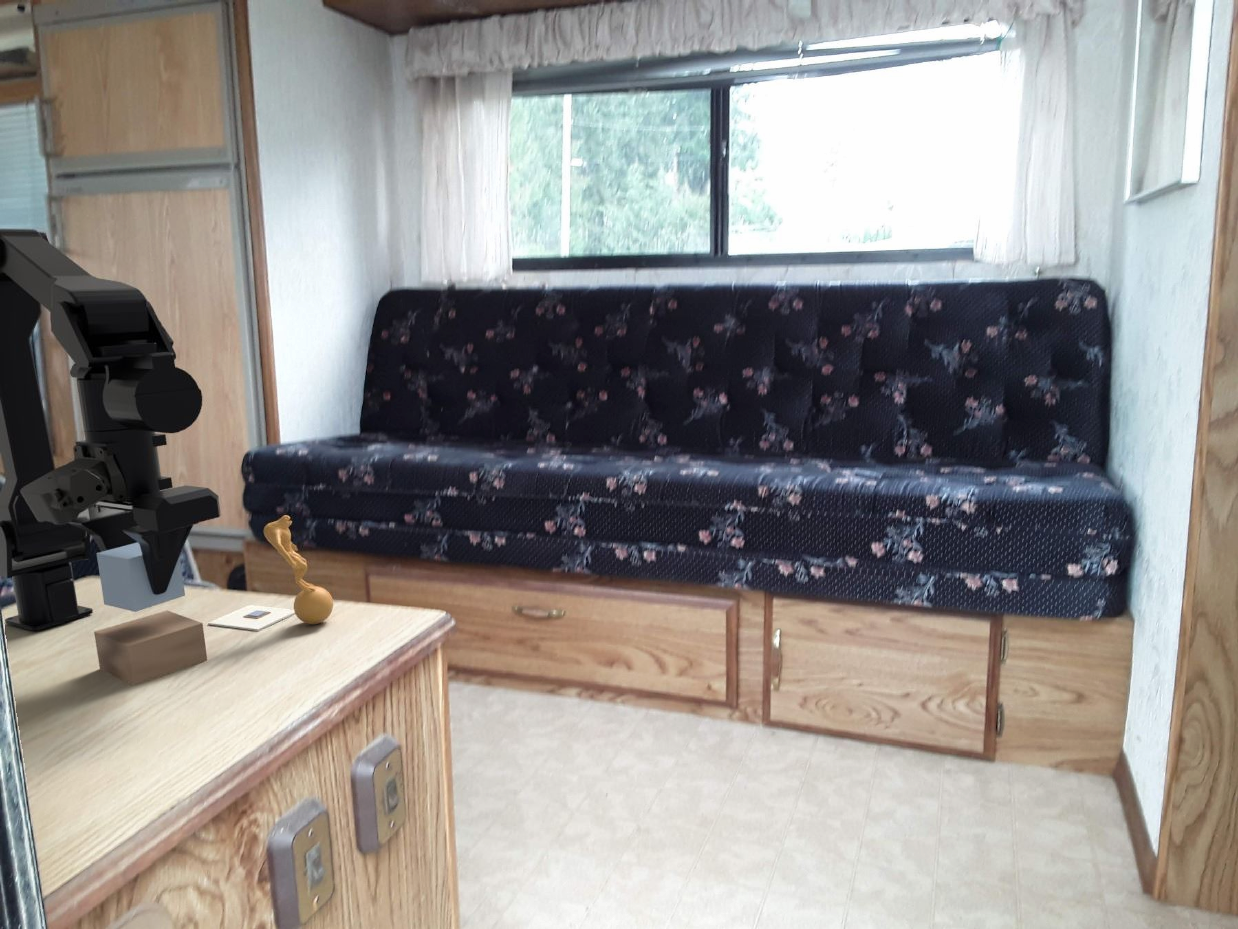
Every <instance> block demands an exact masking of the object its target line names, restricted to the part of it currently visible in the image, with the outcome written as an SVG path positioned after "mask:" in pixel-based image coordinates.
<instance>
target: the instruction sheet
mask: <svg viewBox="0 0 1238 929" xmlns="http://www.w3.org/2000/svg"><path fill="white" fill-rule="evenodd" d="M293 614H294V615H296V614H295V612H294V609H288V608H279V607H272V606H271V607H270V606H263V605H252V604H249V605H247V606H244V607H242V608H239V609H236V610H235V611H232V612H230V613H228V614H226V615H223V616H220V617H219V618H218V617H217V618H216V619H214V620H211V621H209V622H207V624H208V625H210V626H217V627H224V628H232V629H233V628H234V629H241V630H249V631H255V632H259V631H262V630H264V629H266V628H268V627H271V626H272V625H274V624H277V623H279V622H281V621H283V620H285V619H287V618H289V617H292V616H294V615H293ZM291 615H292V616H291ZM282 619H283V620H282Z"/></svg>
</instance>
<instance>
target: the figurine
mask: <svg viewBox="0 0 1238 929" xmlns="http://www.w3.org/2000/svg"><path fill="white" fill-rule="evenodd" d="M292 524H293V521H292V520H291V517H290V516H289V515H286V514H285V515H283V516H281V518H279V519H277V520H275V521H273V522H269V523H267V524H265V526H264V528H263V534H264V537H265V539H266V540H267V541H268V542H269V543H270V544H271V546H273V547H274V548H275V549H276V551H277V552H278V555H281V556H282V557H283V558H284V561H286V562H287V564H288V565H289V566H291V567H292V570H294V580H295V583H296V584H297V585H298V586H299V588H301V590H300V592H298V594H297V595H296V596H295V598H294V601H293V610H294V612H295V614H294V615H295V617H297V619H299V621H301V622H303V623H304V624H307V625H317V624H320V623H323V622H324V621H326V620H327V619H328V618H329V617H330V615H331V613H332V612H333V609H334V600H333V597H332V595H331V594H330V592H329V591H328V590H327V589H325V588H324V587H321V586H316V585H314V584H313V583H308V582H306V581H305V580H303V579H302V578H303V577H304V575H305V574H306V573H307V571H308V565H307V564H308V563H307V562H308V561H307V559H305V558H304V557H302V555H300V554H299V553H297V551H299V549H298V548H297V547H298V546H297V545H295V544H294V543H293V542H292V540H291V539H292V534H291V530H290V528H289V527H290V526H291V525H292Z"/></svg>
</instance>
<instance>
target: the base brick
mask: <svg viewBox="0 0 1238 929" xmlns="http://www.w3.org/2000/svg"><path fill="white" fill-rule="evenodd" d="M93 634H94V640H95V641H94V642H95V646H96V652H97V653H96V654H97V660H98V667H99V670H101V671H102V672H105V673H107V674H109V675H111V676H113V677H115V678H117V679H119V680H122V681H123V682H125V683H128V684H130V685H132V686H136V685H139V684H142V683H144V682H148V681H150V680H151V681H152V680H153V679H154V680H155V679H157V678H159V677H162V676H165V675H169V674H171V673H174V672H177V671H180V670H183V669H186V668H189V667H191V666H194V665H197V664H200V663H203V662H205V661H206V662H207V661H208V654H207V648H206V647H207V646H206V640H205V633H204V625H203V622H201V621H197V620H195V619H192V618H189V617H187V616H184V615H181V614H178V613H176V612H173V611H170V610H164V611H160V612H157V613H153V614H150V615H147V616H143V617H141V618H140V617H139V618H137V619H132V620H129V621H126V622H122V623H119V624H116V625H112V626H110V627H109V626H108V627H106V628H103V629H99V630H94V632H93Z"/></svg>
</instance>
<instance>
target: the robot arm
mask: <svg viewBox="0 0 1238 929" xmlns="http://www.w3.org/2000/svg"><path fill="white" fill-rule="evenodd" d="M42 306H43V307H44V308H45V309H46V310H47V311H48V312H49V314H50V315H49V316H50V332H51V333H52V334H53V336H54V338H55V339H56V340H57V341H58V343H59V345H60V346H61V347H62V348H63V349H64V351H65V352H66V353H67V354H68V356H69V358H71V360H72V361H73V362H74V363H73V365H72V366H71V368H70V370H69V375H70V377H72V378H75V379H76V386H77V393H78V399H79V400H78V401H79V406H80V413H81V420H82V426H83V432H84V433H83V434H84V439H83V440H77V441H75V445H74V446H73V447H72V448H73V449H72V450H73V456H74V458H73V460H72V461H69V462H68V463H66V464H64V465H61V466H58V467H57V468H56V464H55V459H54V454H53V450H52V445H51V439H50V434H49V428H48V425H47V419H46V414H45V410H44V409H45V408H44V405H43V399H42V394H41V393H42V392H41V390H40V384H39V379H38V375H37V370H36V364H35V359H34V355H33V350H32V345H31V337H32V334H33V332H34V330H35V328H36V326H37V324H38V322H39V320H40V318H41V316H42V312H43V310H42ZM174 344H175V343H174V339H173V338H172V337H171V336H170V334H169V332H167V329H166V328H165V327H164V326H163V323H162V322H161V320H159V317H158V315H157V314H156V311H155V310H154V308H153V305H152V304H151V303H150V301H148V299H147V298H146V296H145V295H144V294H143V292H142V291H141V290H140V289H138V288H137V287H134V286H132V285H130V284H127V283H125V282H122V281H119V280H118V281H117V280H113V279H112V280H111V279H105V278H99V277H96V276H94V275H91V274H90V273H89V272H88V271H87V270H86V269H83V267H81V266H80V265H79V264H77V263H76V262H75V261H73V260H72V259H71V258H70V257H68V255H66V254H65V253H63V252H62V251H61V250H59V249H58V248H56V247H55V246H54V245H52V244H51V243H50V241H49V239H48V237H47V235H46V234H45V233H44V232H42V231H37V230H36V229H34V228H0V458H1V461H2V466H3V471H4V476H5V481H4V483H3V485H2V487H1V490H0V577H2V578H4V579H9V578H11V579H12V585H13V592H14V598H15V603H16V610H17V615H14V616H10V617H6V618H5V619H4V624H7V625H10V626H15V627H18V628H20V629H25V630H27V631H28V630H29V631H33V632H37V631H40V630H44V629H46V628H50V627H54V626H56V625H60V624H63V623H66V622H70V621H72V620H76V619H78V618H82V617H85V616H89V615H91V614H93V613H94V612H93V608H90V607H86V606H84V605H83V606H81V605H79V604H78V598H77V591H76V586H75V580H74V574H73V569H72V568H73V567H72V563H74V562H75V563H76V562H79V561H86V560H90V552H91V537H92V538H93V540H94V542H95V544H96V545H97V547H98V548H99V550H100V552H103V551H107V550H111V549H115V548H118V547H122V546H126V545H130V544H134V543H137V542H138V543H139V545H140V548H141V552H142V556H143V560H144V564H145V568H146V572H147V576H148V579H149V583H150V586H151V589H152V592H153V594H155V595H159V594H162V593H165V592H166V591H167V588H168V585H169V583H170V580H171V577H172V575H173V572H174V569H175V567H176V564H177V561H178V559H179V556H180V557H181V553H182V550H183V548H184V546H185V544H186V542H187V540H188V538H189V535H190V533H191V531H192V529H193V527H194V526H195V525H197V524H199V523H202V522H205V521H210V520H214V519H217V518H220V517H221V516H222V514H221V513H222V512H221V506H220V498H219V495H218V494H217V493H215V492H214V491H213V490H212V489H210V488H209V487H202V486H194V485H182V486H181V485H180V486H177V487H174V486H173V481H172V479H173V478H172V477H171V476H162V474H161V466H160V458H159V451H158V450H159V449H158V447H162V446H167V445H168V442H167V435H166V434H177V433H180V432H182V431H185V430H186V429H188V428H190V427H191V426H192V425H193V424H194V423H195V422H196V421H197V419H198V417H199V415H200V414H201V412H202V407H203V393H202V390H201V388H200V387H199V385H198V383H197V381H196V380H195V378H194V377H193V376H192V375H191V374H190V373H189V372H188V371H186V370H184V369H182V368H179V367H177V366H176V362H175V360H176V358H177V354H176V351H175V349H174V347H173V346H174Z"/></svg>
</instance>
